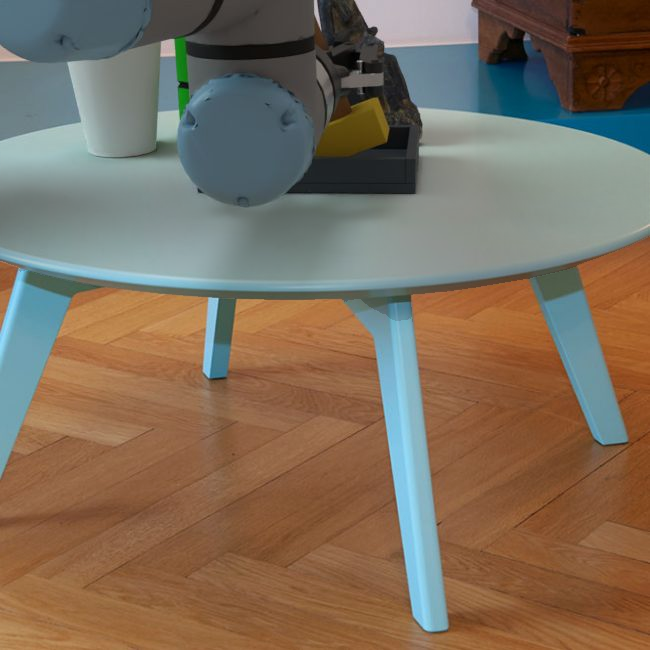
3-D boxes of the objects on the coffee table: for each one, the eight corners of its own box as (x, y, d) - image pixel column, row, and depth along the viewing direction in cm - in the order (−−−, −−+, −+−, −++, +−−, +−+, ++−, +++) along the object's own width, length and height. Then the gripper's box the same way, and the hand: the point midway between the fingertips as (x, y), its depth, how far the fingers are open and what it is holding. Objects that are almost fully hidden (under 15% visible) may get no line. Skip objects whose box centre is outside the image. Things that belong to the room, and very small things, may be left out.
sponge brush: (308, 171, 94) (241, 9, 90) (314, 156, 99) (251, 2, 94) (387, 142, 93) (323, -24, 88) (389, 128, 97) (329, -30, 93)
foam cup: (143, 164, 101) (130, 14, 96) (52, 158, 104) (36, 12, 99) (189, 140, 109) (179, 1, 104) (103, 135, 112) (90, 0, 107)
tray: (197, 192, 92) (195, 158, 91) (225, 155, 104) (223, 124, 102) (415, 193, 90) (415, 158, 89) (418, 155, 102) (419, 124, 101)
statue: (403, 151, 103) (403, -20, 98) (304, 135, 111) (299, -26, 105) (438, 140, 107) (440, -26, 102) (340, 125, 114) (337, -31, 109)
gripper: (162, 153, 79) (226, 92, 100) (405, 151, 77) (417, 89, 99) (152, 43, 76) (220, 4, 98) (404, 38, 74) (417, 0, 96)
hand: (319, 47), depth 98 cm, fingers closed on sponge brush, 4 cm apart
